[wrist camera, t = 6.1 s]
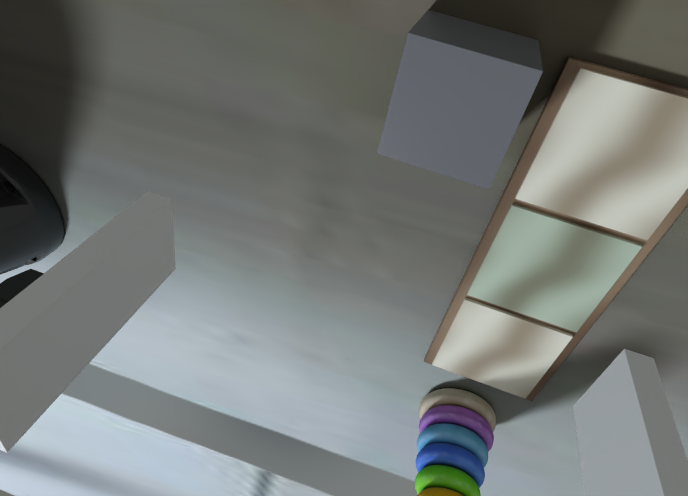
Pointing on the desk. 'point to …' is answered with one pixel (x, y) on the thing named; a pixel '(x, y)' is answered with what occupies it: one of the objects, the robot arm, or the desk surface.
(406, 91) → the grey plain cubic block
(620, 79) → the board
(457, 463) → the stacking toy
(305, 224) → the desk surface
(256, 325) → the desk surface
